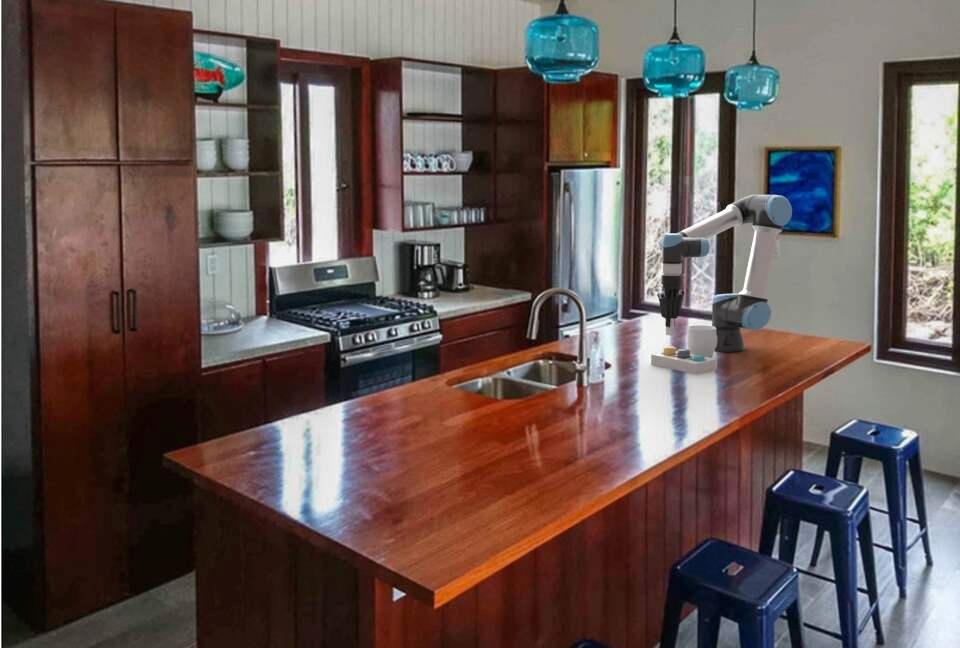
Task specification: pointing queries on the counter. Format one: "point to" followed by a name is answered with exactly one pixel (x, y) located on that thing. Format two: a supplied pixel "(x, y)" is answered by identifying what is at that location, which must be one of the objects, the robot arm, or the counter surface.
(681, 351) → the charcoal button
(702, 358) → the teal button
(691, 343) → the mug
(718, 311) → the robot arm
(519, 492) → the counter surface
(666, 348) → the mustard button
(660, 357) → the console
